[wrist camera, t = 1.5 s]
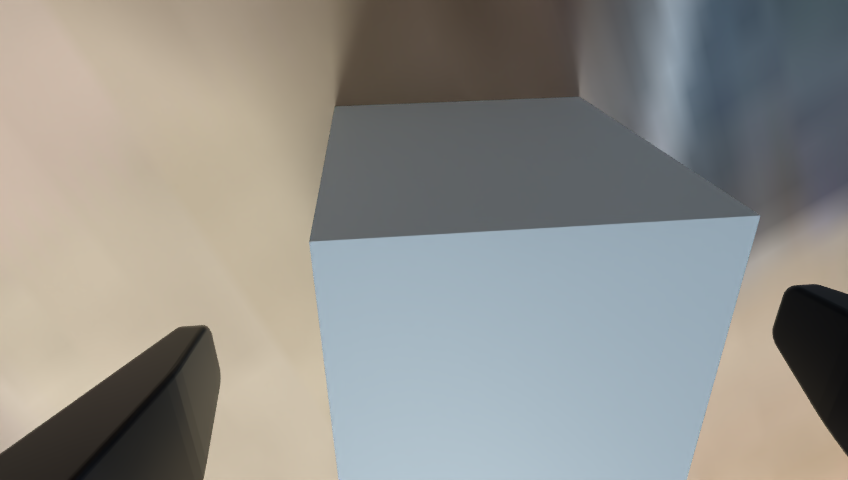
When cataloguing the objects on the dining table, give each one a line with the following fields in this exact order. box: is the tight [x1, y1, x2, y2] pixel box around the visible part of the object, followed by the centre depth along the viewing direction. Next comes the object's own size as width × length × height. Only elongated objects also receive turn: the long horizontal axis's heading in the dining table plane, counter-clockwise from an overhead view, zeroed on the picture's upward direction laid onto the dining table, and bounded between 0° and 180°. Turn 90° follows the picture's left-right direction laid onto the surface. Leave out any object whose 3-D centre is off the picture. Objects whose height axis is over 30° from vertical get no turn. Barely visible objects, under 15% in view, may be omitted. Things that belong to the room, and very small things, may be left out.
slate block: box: [309, 97, 760, 480], centre depth 10 cm, size 5×5×6 cm
